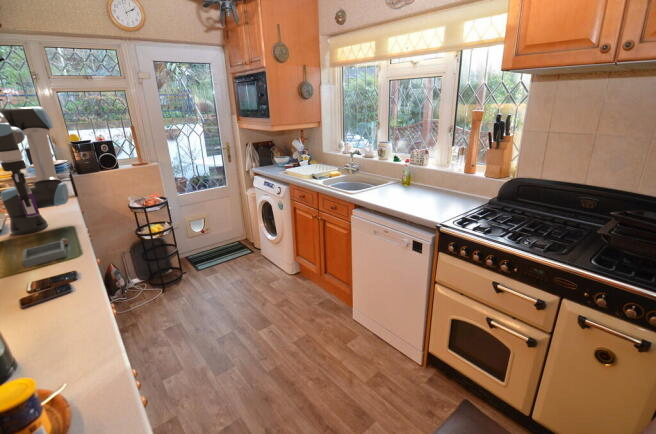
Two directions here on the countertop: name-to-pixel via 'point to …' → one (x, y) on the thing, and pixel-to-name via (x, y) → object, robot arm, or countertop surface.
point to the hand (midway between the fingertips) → (32, 211)
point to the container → (31, 201)
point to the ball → (64, 240)
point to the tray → (43, 253)
